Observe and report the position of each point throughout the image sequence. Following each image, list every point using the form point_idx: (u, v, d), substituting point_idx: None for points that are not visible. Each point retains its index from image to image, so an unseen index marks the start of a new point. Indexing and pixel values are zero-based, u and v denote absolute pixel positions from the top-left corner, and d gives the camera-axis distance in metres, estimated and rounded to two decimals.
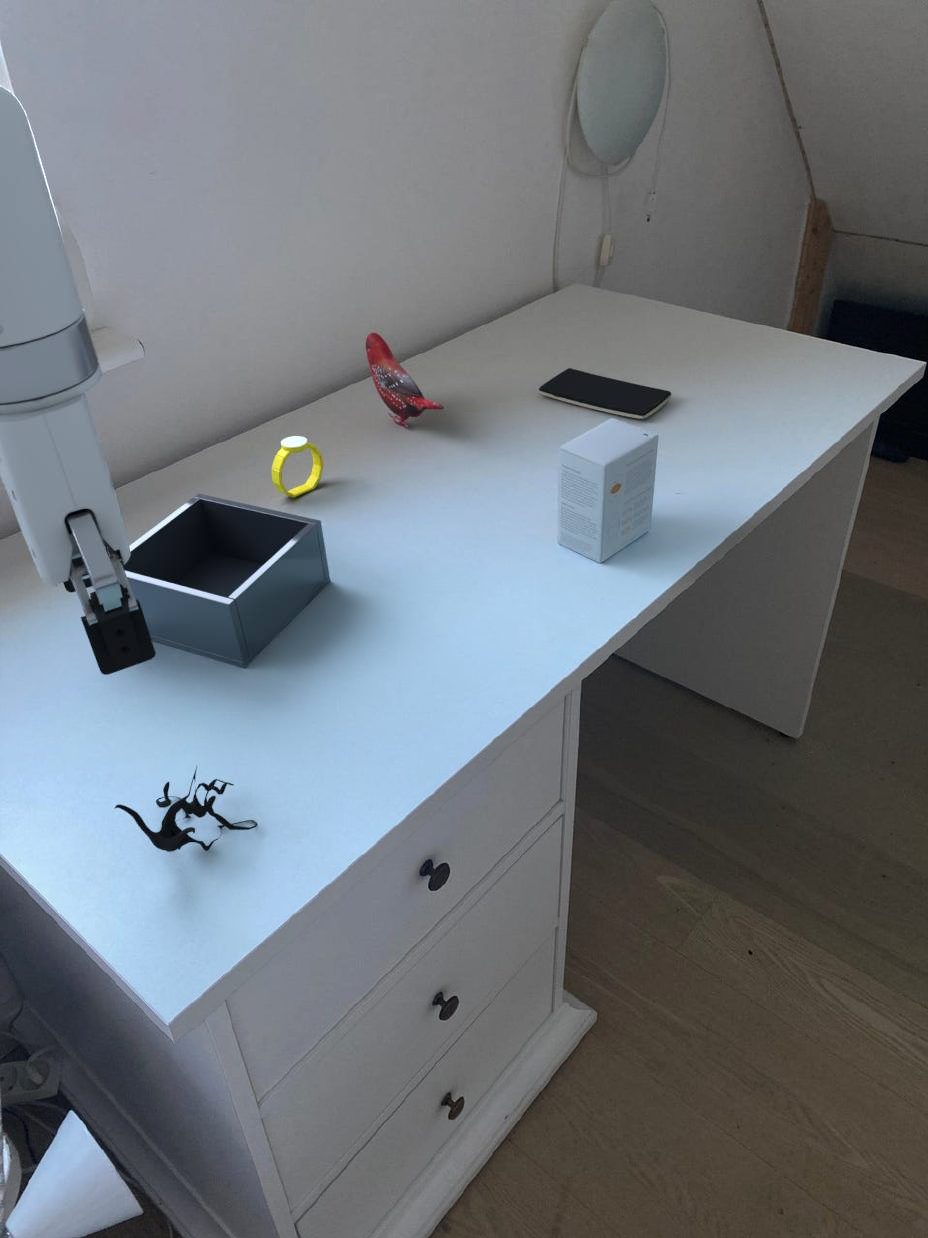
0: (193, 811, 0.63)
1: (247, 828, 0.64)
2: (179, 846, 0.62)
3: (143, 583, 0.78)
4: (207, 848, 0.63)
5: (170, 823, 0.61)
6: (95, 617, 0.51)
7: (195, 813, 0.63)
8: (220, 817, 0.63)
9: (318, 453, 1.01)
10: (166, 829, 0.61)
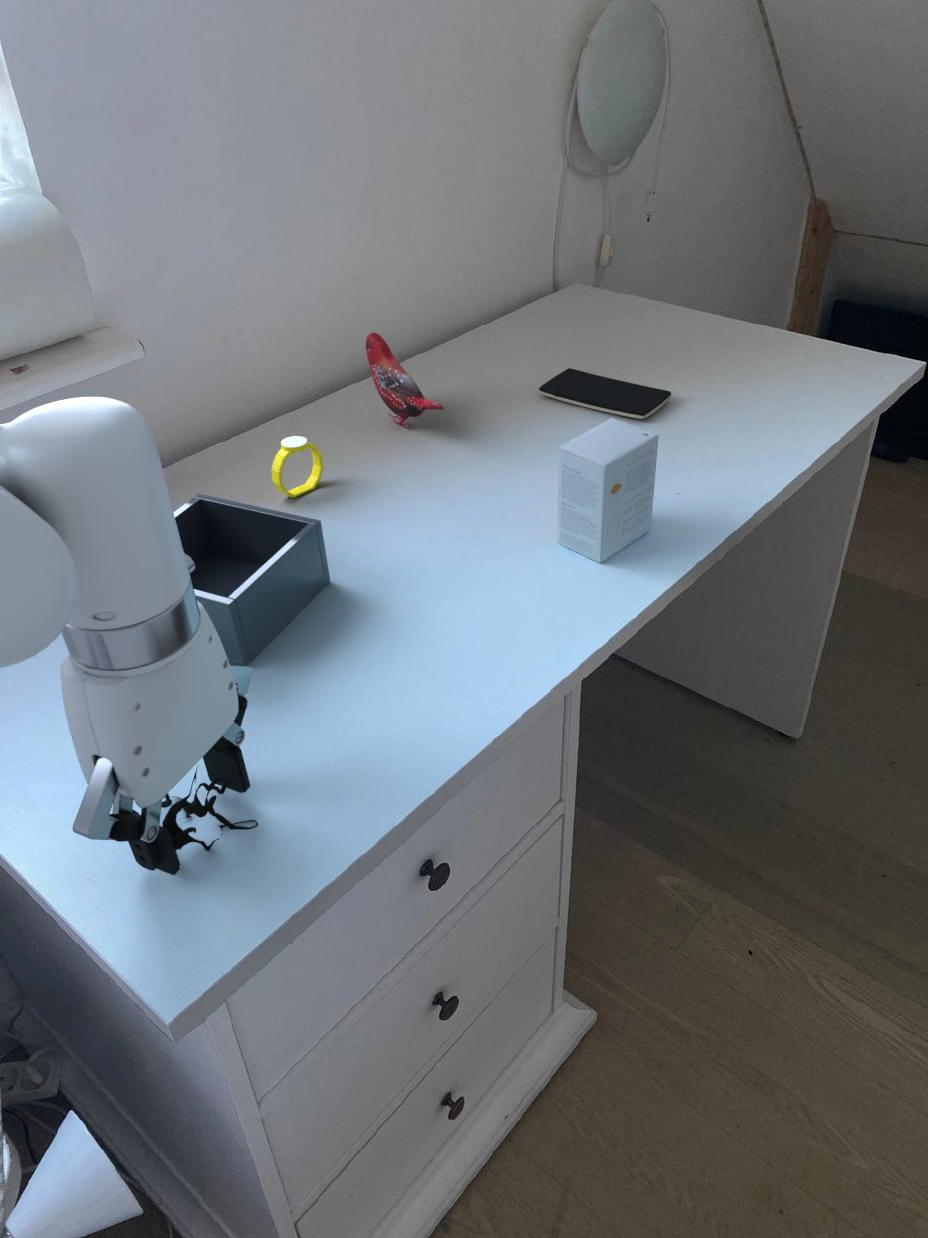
0: (194, 811, 0.63)
1: (248, 828, 0.64)
2: (180, 846, 0.62)
3: None
4: (208, 848, 0.63)
5: (171, 823, 0.61)
6: None
7: (196, 813, 0.63)
8: (221, 817, 0.63)
9: (318, 453, 1.01)
10: None
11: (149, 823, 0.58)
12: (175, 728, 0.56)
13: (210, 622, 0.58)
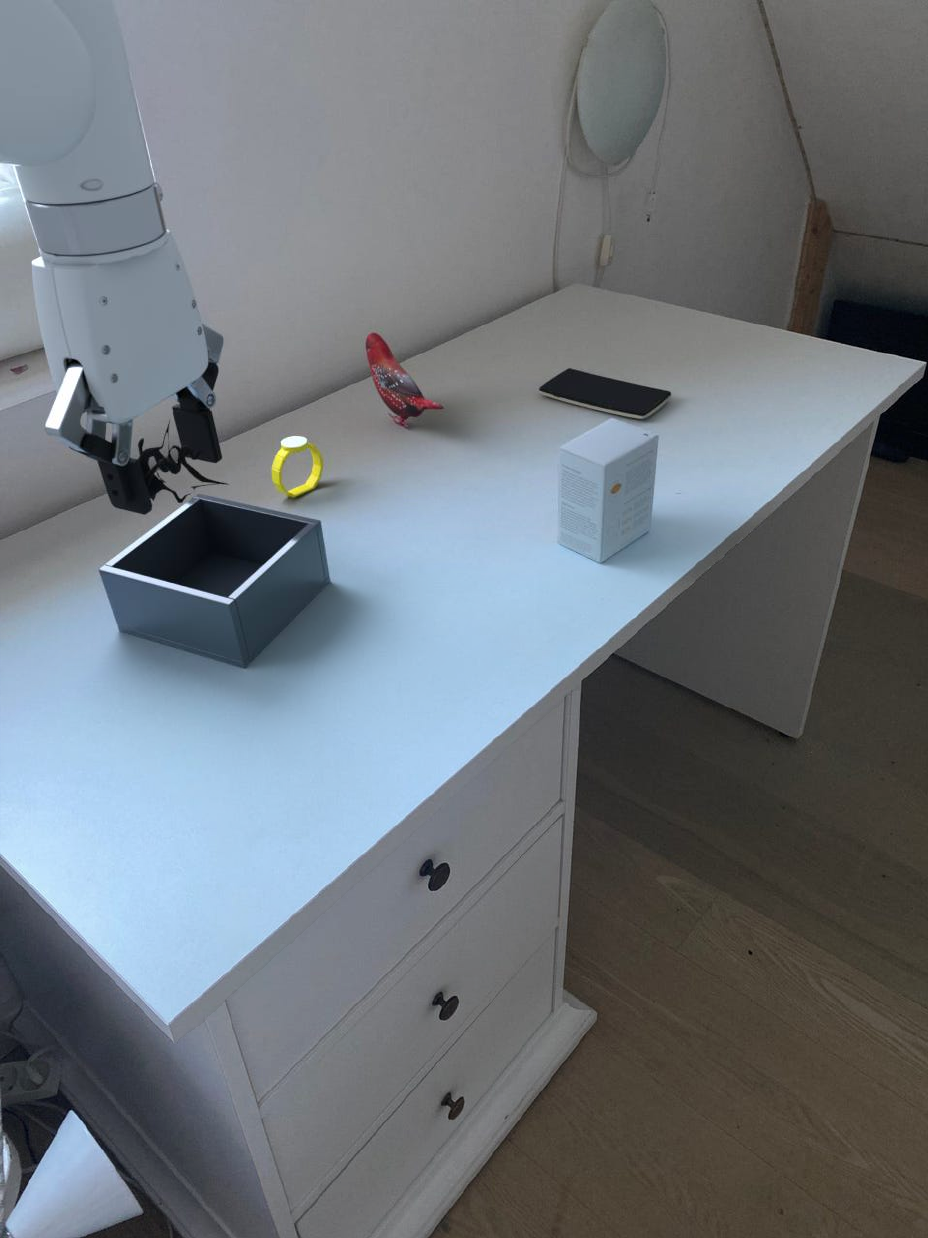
0: (166, 463, 0.66)
1: (218, 482, 0.66)
2: (153, 493, 0.65)
3: (143, 583, 0.78)
4: (180, 500, 0.66)
5: (143, 464, 0.64)
6: None
7: (168, 466, 0.66)
8: (192, 468, 0.66)
9: (318, 453, 1.01)
10: None
11: (120, 444, 0.60)
12: (143, 343, 0.59)
13: (177, 250, 0.60)
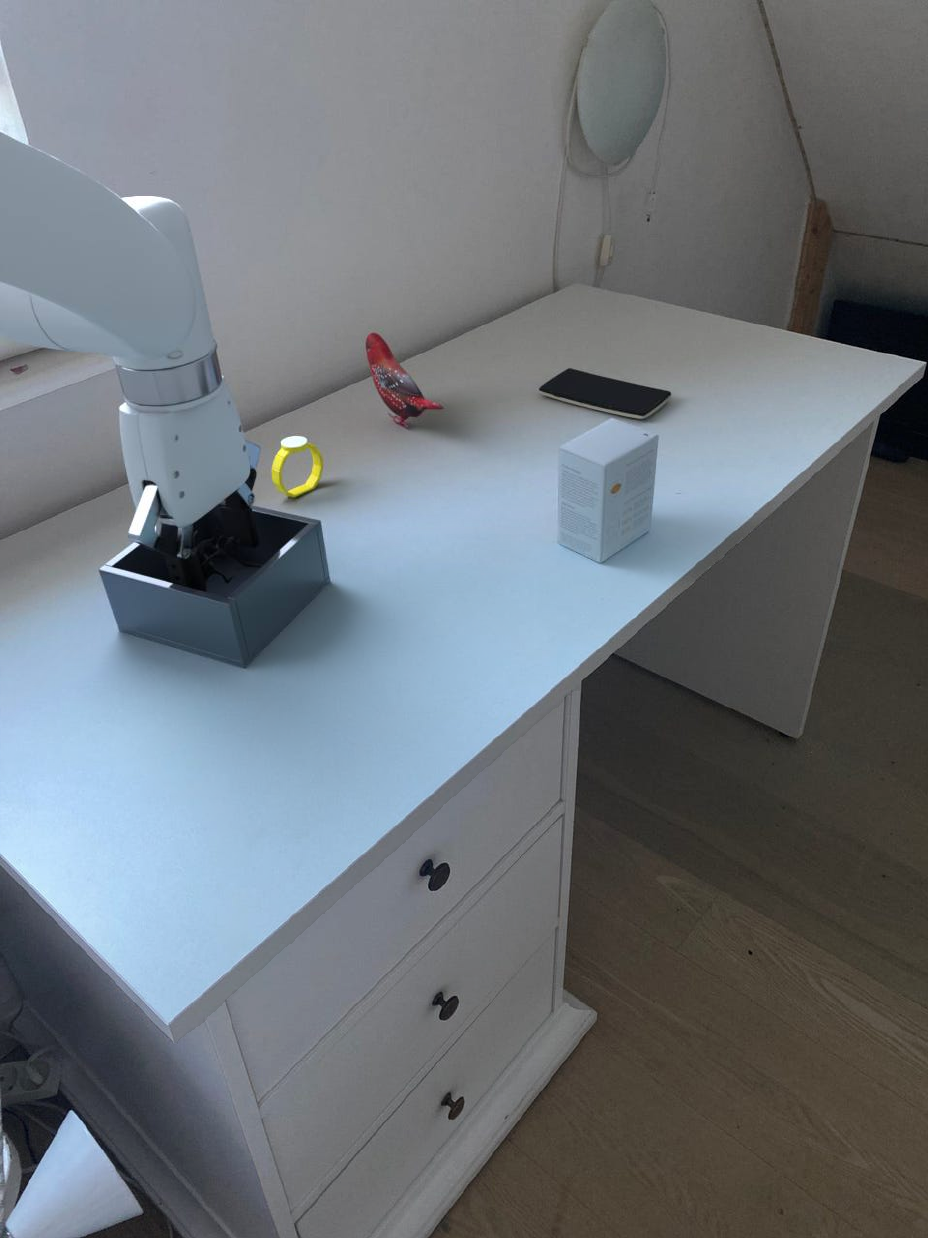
0: (216, 551, 0.82)
1: (258, 566, 0.82)
2: (206, 576, 0.81)
3: (143, 583, 0.78)
4: (227, 581, 0.82)
5: (199, 555, 0.80)
6: None
7: (218, 553, 0.82)
8: (237, 556, 0.81)
9: (318, 453, 1.01)
10: None
11: (183, 543, 0.76)
12: (203, 465, 0.75)
13: (229, 390, 0.76)
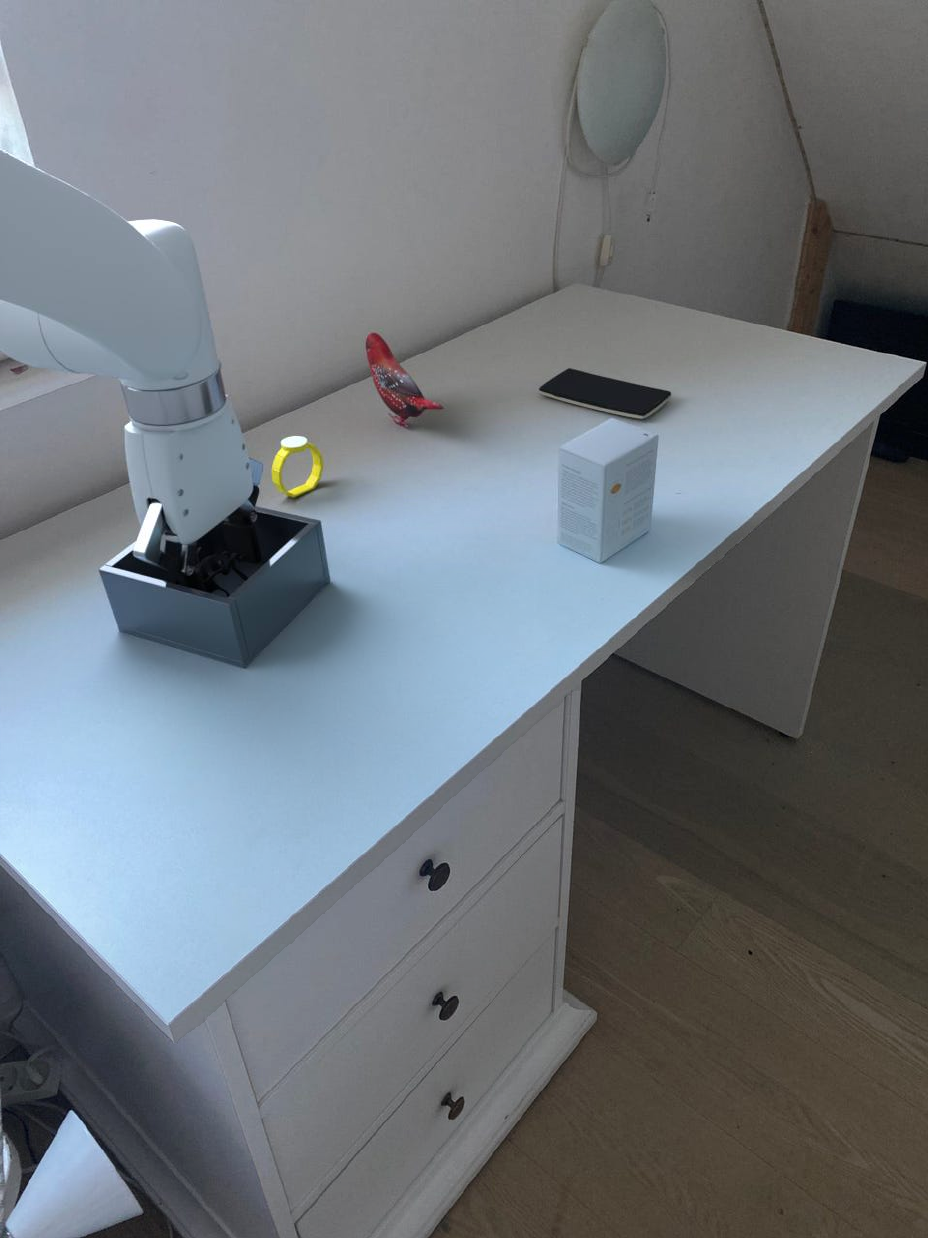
0: (219, 567, 0.82)
1: None
2: (209, 592, 0.82)
3: (143, 583, 0.78)
4: None
5: (203, 571, 0.81)
6: None
7: None
8: (240, 572, 0.82)
9: (318, 453, 1.01)
10: None
11: (187, 559, 0.77)
12: (207, 483, 0.76)
13: (232, 408, 0.77)
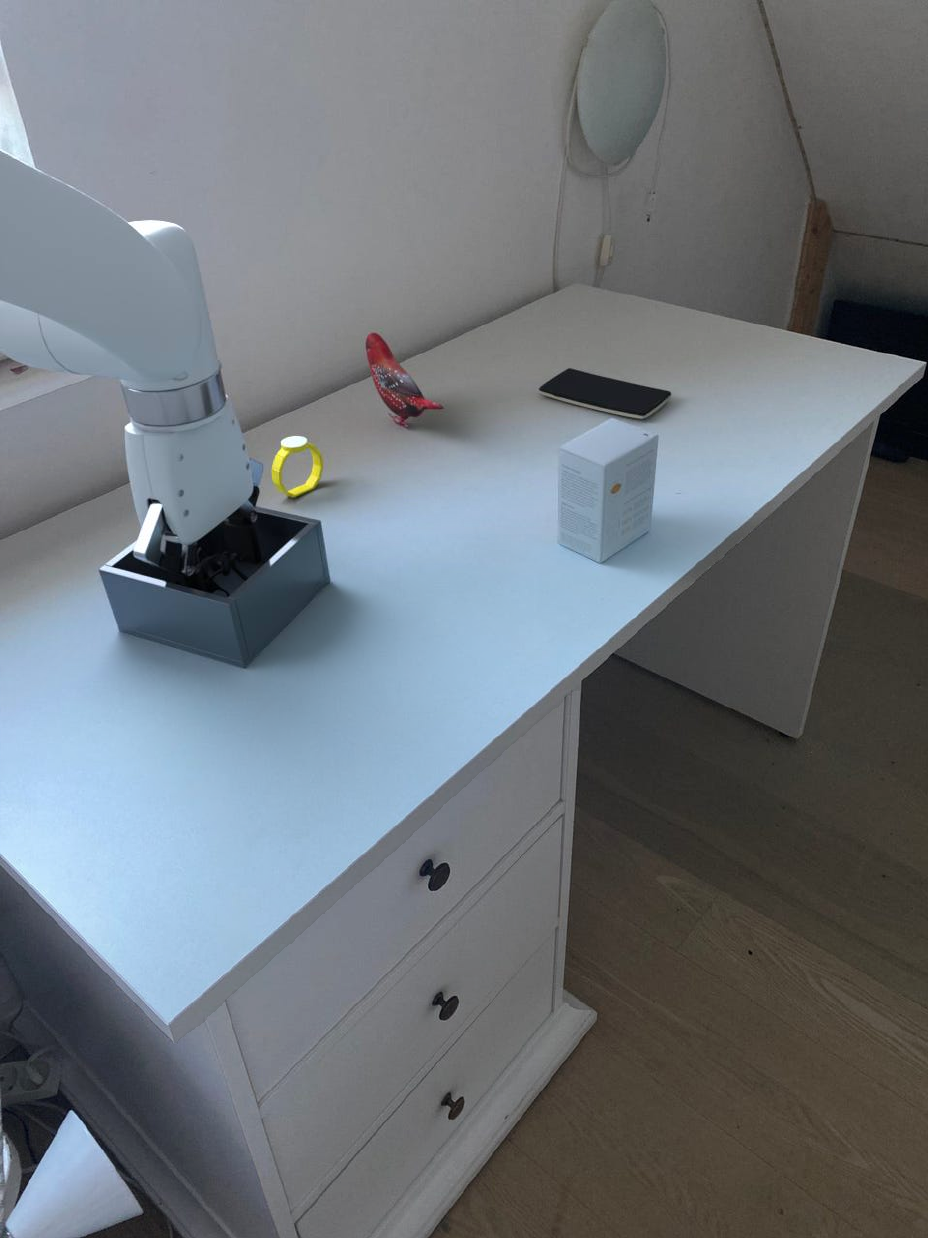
0: (220, 568, 0.82)
1: None
2: (210, 592, 0.82)
3: (143, 583, 0.78)
4: None
5: (203, 571, 0.81)
6: None
7: None
8: (240, 572, 0.82)
9: (318, 453, 1.01)
10: None
11: (188, 560, 0.77)
12: (207, 484, 0.76)
13: (233, 409, 0.77)
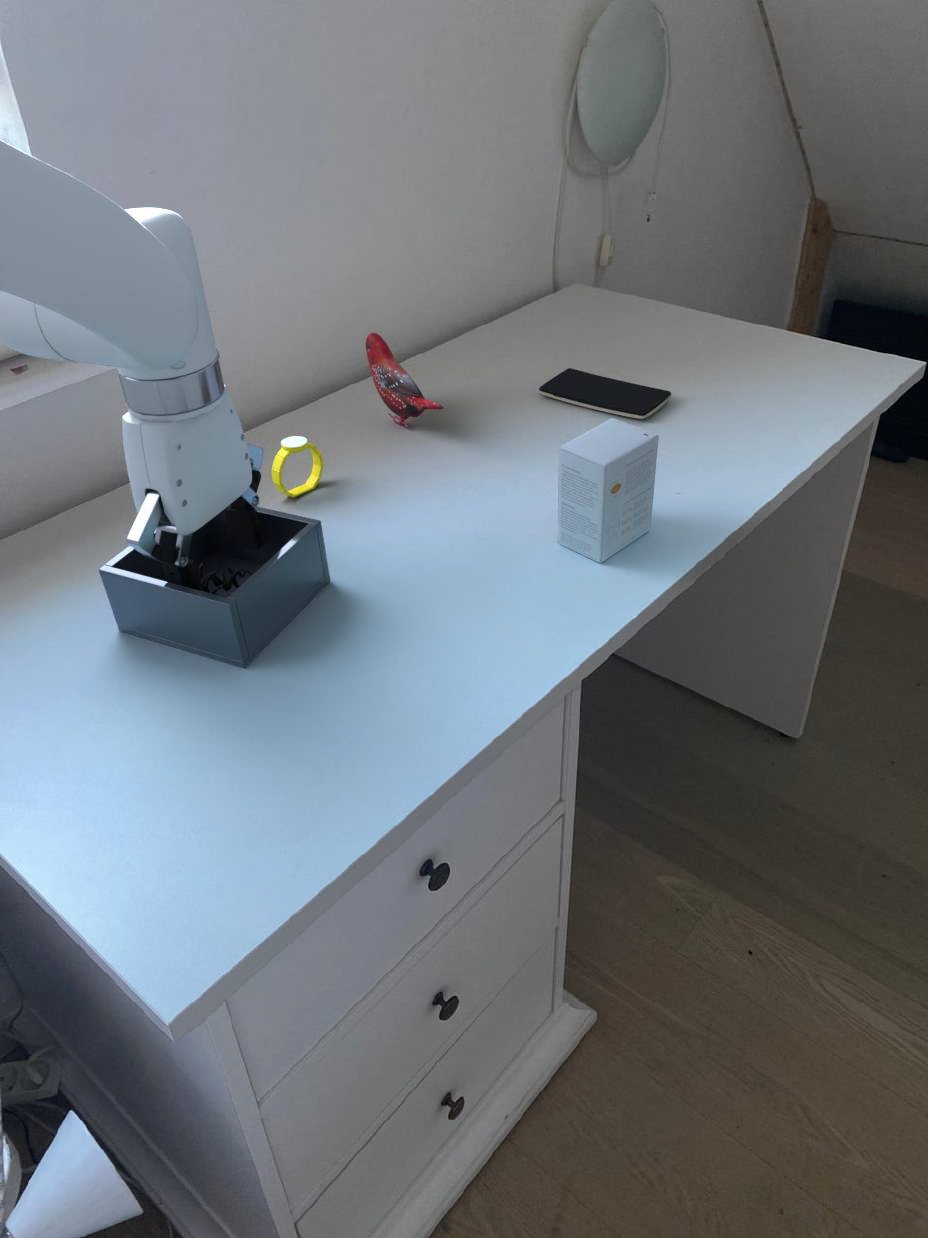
0: (221, 583, 0.83)
1: None
2: None
3: (143, 583, 0.78)
4: None
5: (204, 587, 0.81)
6: None
7: None
8: None
9: (318, 453, 1.01)
10: None
11: (181, 551, 0.76)
12: (205, 474, 0.75)
13: (231, 398, 0.76)
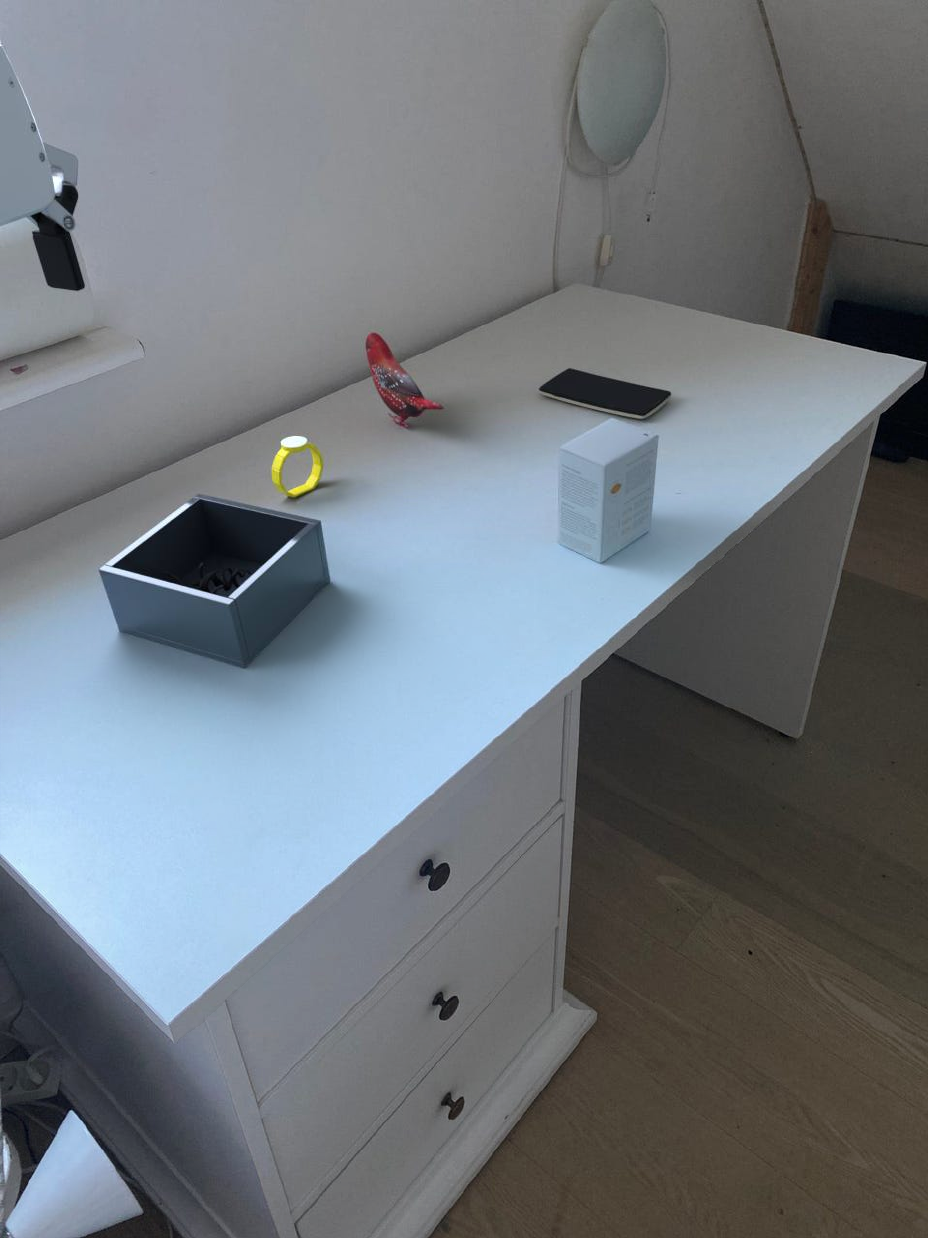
0: (221, 583, 0.83)
1: None
2: None
3: (143, 583, 0.78)
4: None
5: (204, 587, 0.81)
6: None
7: None
8: None
9: (318, 453, 1.01)
10: None
11: None
12: None
13: (11, 67, 0.60)
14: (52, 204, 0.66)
